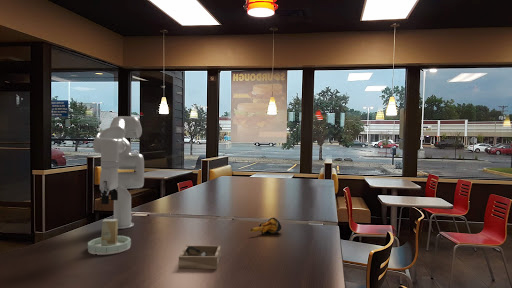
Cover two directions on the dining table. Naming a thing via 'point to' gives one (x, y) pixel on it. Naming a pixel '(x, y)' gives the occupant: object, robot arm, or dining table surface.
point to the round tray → (121, 246)
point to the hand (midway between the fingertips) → (109, 202)
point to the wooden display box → (201, 257)
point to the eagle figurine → (195, 252)
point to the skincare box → (109, 232)
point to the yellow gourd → (268, 227)
